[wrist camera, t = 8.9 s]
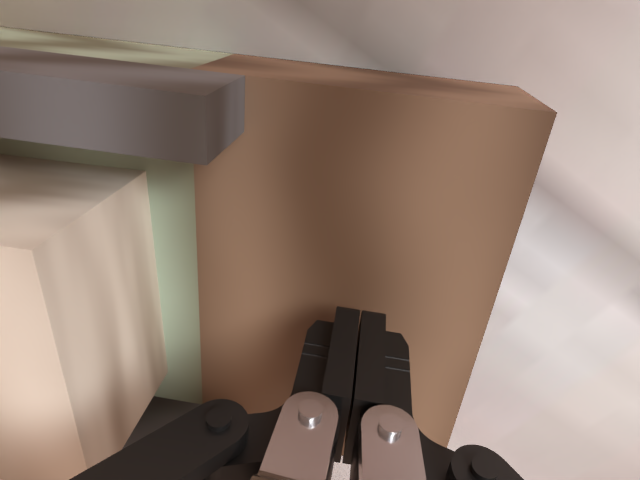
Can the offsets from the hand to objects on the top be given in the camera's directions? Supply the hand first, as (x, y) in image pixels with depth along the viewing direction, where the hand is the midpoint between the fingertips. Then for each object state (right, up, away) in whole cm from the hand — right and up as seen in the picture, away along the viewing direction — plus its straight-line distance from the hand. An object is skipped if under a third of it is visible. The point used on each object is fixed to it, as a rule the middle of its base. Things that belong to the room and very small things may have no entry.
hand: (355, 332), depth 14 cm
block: (-11, +2, +2) cm, 11 cm away
